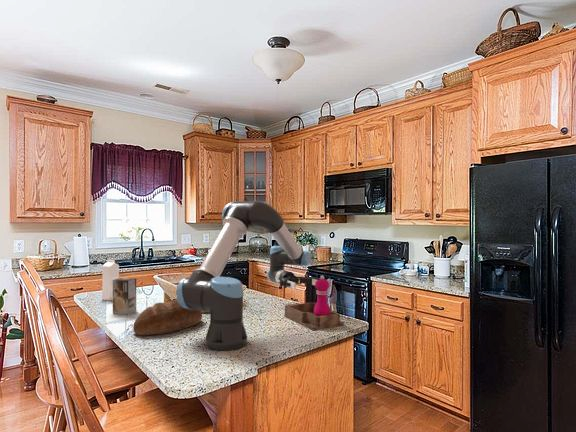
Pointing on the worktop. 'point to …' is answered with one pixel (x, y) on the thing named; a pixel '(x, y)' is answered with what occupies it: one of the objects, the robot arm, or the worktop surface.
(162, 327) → the bread
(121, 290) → the coffee box
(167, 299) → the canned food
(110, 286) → the milk
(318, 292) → the pepper mill
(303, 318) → the keyhole cradle
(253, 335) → the worktop surface
